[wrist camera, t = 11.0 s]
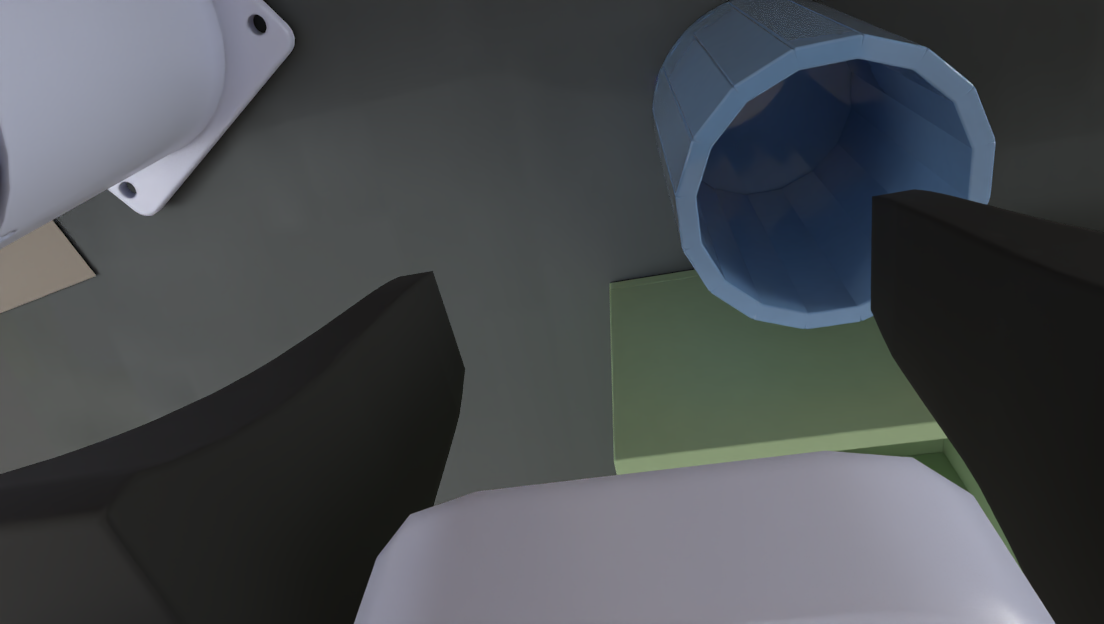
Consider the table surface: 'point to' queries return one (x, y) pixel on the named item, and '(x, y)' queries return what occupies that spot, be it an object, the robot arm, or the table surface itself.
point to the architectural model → (39, 266)
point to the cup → (805, 151)
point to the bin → (757, 387)
